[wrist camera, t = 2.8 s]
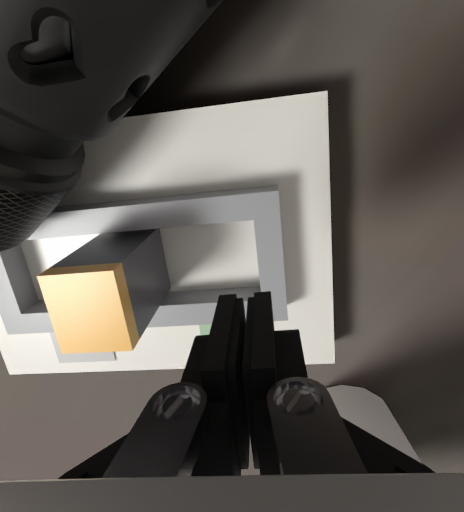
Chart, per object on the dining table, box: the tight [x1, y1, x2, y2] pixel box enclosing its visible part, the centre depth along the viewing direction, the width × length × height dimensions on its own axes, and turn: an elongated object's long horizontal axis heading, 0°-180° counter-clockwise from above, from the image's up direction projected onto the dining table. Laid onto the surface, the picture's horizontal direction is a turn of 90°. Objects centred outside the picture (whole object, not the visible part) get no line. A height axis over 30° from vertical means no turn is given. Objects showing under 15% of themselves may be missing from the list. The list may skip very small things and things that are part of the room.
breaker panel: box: [0, 91, 335, 374], centre depth 20 cm, size 20×14×4 cm
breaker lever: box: [37, 228, 171, 354], centre depth 17 cm, size 3×3×6 cm
